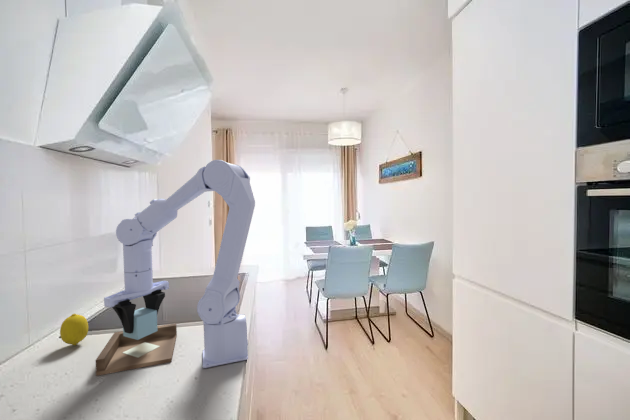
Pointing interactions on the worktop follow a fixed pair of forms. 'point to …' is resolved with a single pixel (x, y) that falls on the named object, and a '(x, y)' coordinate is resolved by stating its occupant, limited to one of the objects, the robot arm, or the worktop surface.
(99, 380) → the worktop surface
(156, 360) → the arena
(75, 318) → the lemon
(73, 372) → the worktop surface
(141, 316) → the cube
